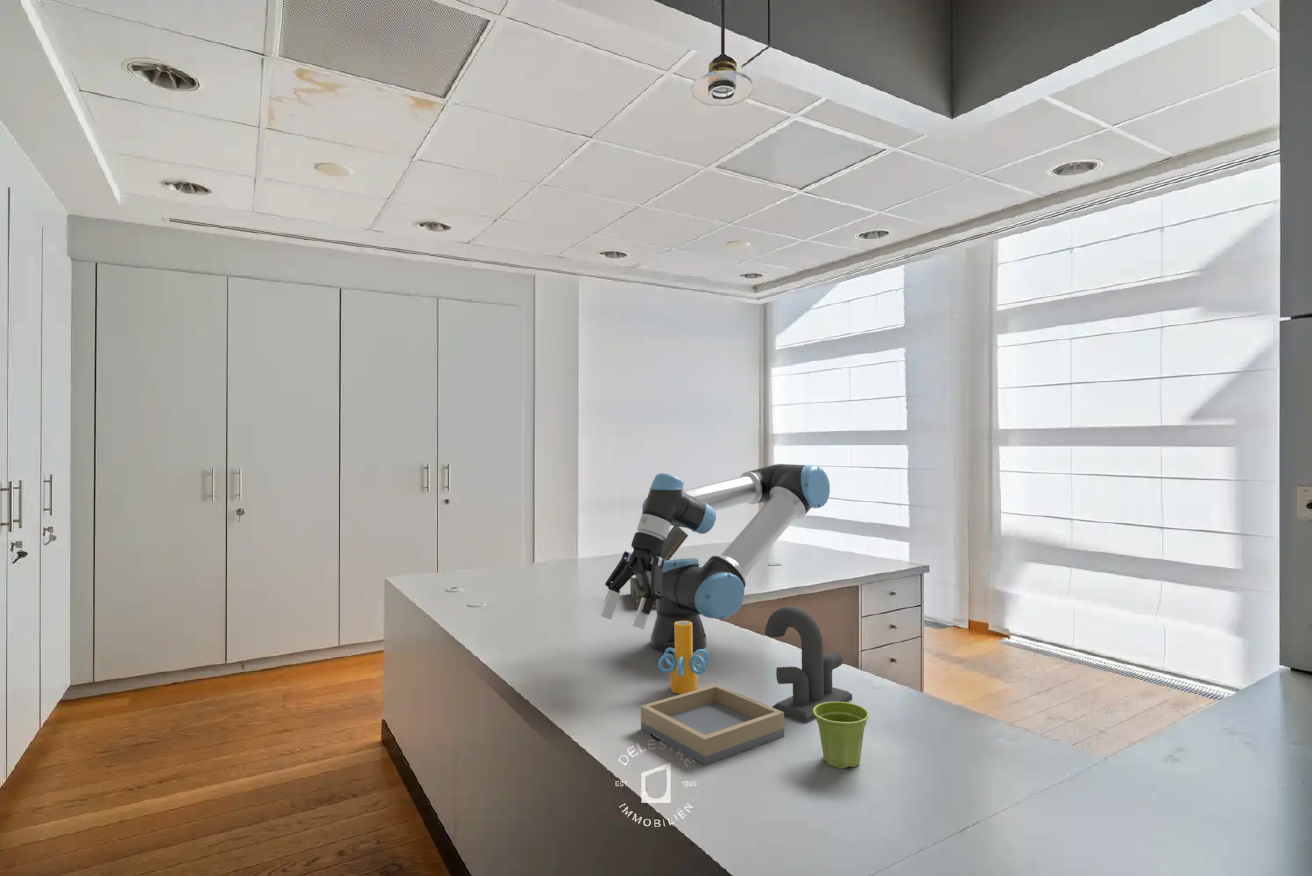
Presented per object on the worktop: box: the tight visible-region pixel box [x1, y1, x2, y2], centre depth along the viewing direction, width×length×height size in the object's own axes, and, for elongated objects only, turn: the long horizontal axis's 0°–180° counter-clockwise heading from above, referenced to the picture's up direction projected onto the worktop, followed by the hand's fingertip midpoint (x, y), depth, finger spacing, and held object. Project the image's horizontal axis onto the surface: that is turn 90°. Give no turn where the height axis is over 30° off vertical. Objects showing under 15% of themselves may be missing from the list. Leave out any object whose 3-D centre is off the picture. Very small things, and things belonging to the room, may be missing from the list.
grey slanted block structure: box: [629, 526, 689, 611], centre depth 247 cm, size 23×20×25 cm
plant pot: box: [813, 701, 870, 769], centre depth 125 cm, size 9×9×9 cm
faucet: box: [764, 605, 853, 724], centre depth 154 cm, size 18×16×20 cm
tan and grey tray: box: [640, 683, 785, 766], centre depth 138 cm, size 19×19×4 cm
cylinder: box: [657, 621, 710, 695], centre depth 161 cm, size 12×10×15 cm
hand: (621, 622), depth 168 cm, fingers open, 13 cm apart
